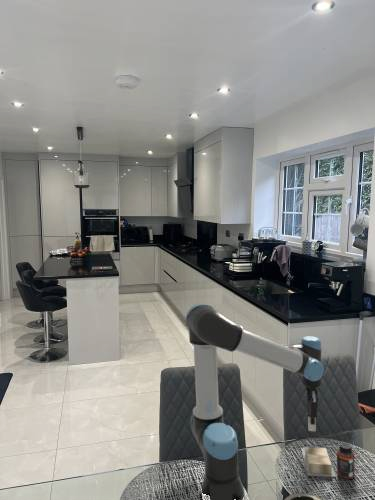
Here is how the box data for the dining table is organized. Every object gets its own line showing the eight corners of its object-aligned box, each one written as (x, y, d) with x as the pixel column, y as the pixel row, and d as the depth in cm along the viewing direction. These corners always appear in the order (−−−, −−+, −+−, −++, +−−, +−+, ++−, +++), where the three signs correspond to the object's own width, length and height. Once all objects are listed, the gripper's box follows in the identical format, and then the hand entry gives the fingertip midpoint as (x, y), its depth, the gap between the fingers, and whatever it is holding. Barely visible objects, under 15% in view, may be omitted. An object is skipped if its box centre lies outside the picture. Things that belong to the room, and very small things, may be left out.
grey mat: (307, 475, 135) (307, 474, 135) (300, 449, 150) (300, 448, 150) (335, 477, 133) (335, 476, 133) (325, 450, 149) (325, 449, 149)
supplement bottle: (356, 480, 131) (356, 451, 130) (339, 479, 132) (338, 449, 131) (352, 469, 137) (352, 441, 136) (335, 468, 138) (335, 439, 137)
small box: (305, 455, 146) (309, 472, 136) (305, 447, 145) (309, 463, 135) (326, 456, 144) (331, 474, 134) (325, 448, 144) (331, 464, 134)
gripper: (324, 382, 141) (325, 440, 143) (317, 368, 154) (318, 422, 156) (304, 381, 142) (305, 438, 144) (299, 368, 155) (300, 421, 157)
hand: (312, 430), depth 150 cm, fingers closed
